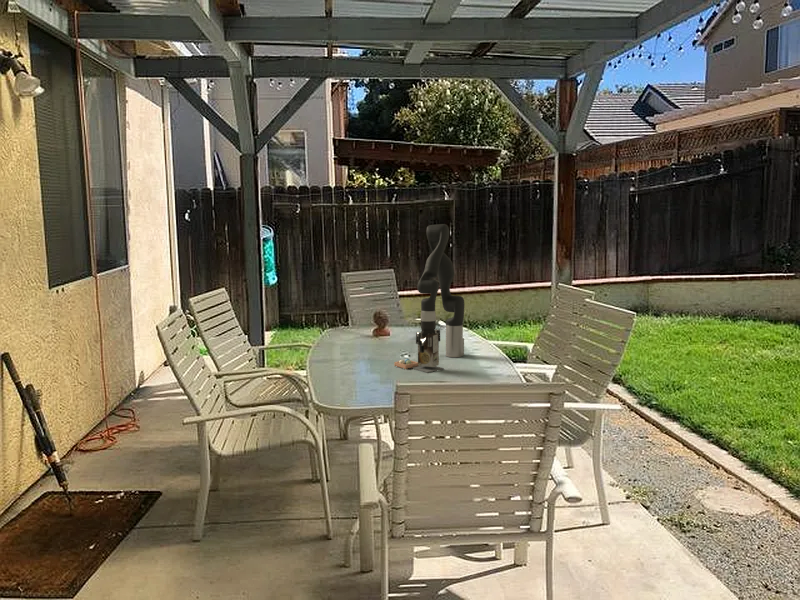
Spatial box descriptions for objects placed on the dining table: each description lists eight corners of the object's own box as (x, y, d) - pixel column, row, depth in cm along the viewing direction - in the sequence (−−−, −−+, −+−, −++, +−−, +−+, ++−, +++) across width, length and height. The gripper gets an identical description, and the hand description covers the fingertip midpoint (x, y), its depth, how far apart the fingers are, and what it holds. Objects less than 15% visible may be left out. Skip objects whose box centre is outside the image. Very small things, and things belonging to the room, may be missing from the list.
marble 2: (407, 363, 356) (407, 357, 356) (411, 364, 354) (411, 358, 353) (403, 364, 354) (403, 358, 354) (406, 365, 352) (406, 359, 351)
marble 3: (409, 365, 352) (409, 359, 352) (412, 366, 350) (412, 360, 350) (404, 365, 350) (404, 360, 350) (408, 367, 348) (408, 361, 348)
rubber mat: (428, 365, 354) (428, 364, 354) (444, 369, 345) (444, 368, 345) (412, 368, 347) (412, 367, 347) (427, 372, 338) (427, 371, 338)
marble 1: (402, 364, 354) (402, 358, 353) (406, 365, 351) (406, 359, 351) (397, 365, 352) (397, 359, 352) (401, 366, 350) (401, 360, 349)
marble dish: (408, 363, 358) (408, 359, 358) (419, 366, 351) (419, 362, 350) (394, 366, 352) (394, 362, 352) (405, 369, 345) (405, 365, 345)
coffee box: (439, 364, 346) (439, 333, 344) (433, 367, 341) (433, 335, 339) (423, 362, 351) (423, 331, 349) (417, 365, 345) (417, 333, 343)
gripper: (434, 317, 350) (434, 348, 352) (412, 320, 341) (412, 352, 343) (443, 318, 344) (443, 350, 346) (422, 322, 335) (422, 354, 338)
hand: (428, 351), depth 345 cm, fingers closed on coffee box, 8 cm apart
